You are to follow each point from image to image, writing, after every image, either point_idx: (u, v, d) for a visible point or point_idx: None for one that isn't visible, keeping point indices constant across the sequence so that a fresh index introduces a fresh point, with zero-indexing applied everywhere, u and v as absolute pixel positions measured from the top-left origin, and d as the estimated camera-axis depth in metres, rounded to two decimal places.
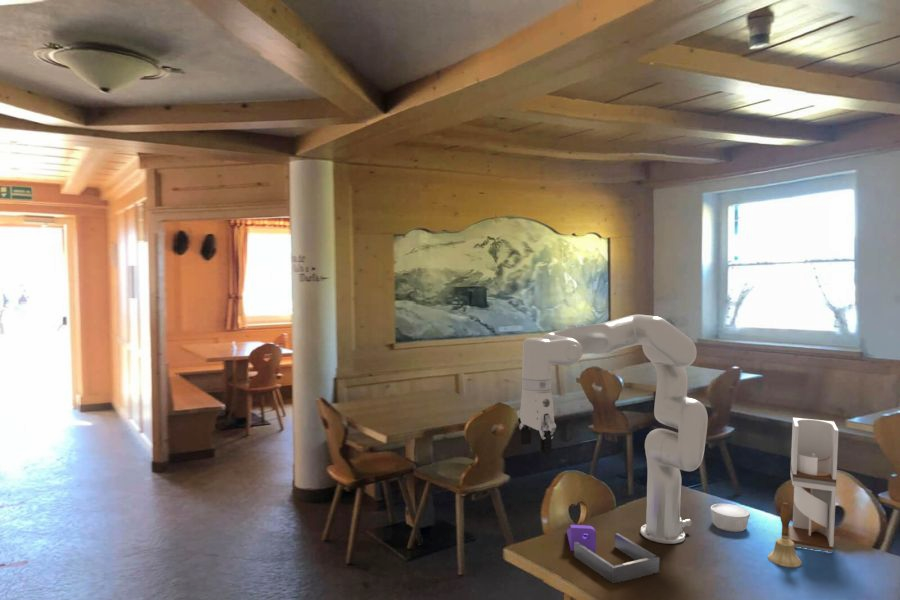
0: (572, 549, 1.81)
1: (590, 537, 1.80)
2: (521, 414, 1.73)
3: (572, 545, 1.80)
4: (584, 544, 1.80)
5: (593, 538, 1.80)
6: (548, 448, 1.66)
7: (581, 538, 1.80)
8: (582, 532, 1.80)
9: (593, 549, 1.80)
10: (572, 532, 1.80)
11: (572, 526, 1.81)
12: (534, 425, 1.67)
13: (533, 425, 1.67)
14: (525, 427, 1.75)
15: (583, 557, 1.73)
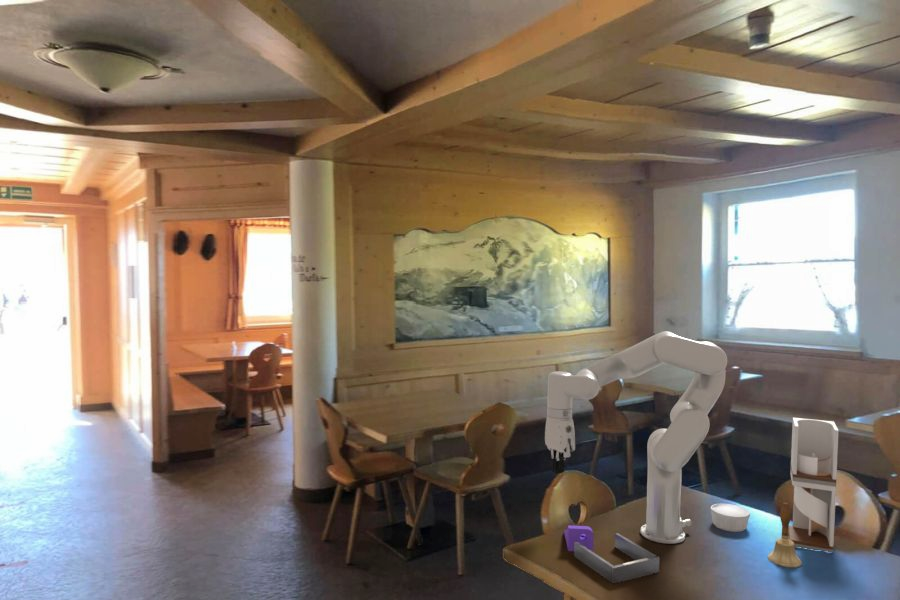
0: (569, 550, 1.80)
1: (587, 538, 1.80)
2: (546, 438, 1.98)
3: (569, 546, 1.80)
4: None
5: (591, 539, 1.79)
6: (561, 468, 1.95)
7: (578, 539, 1.80)
8: (579, 533, 1.80)
9: None
10: (569, 533, 1.80)
11: (569, 527, 1.81)
12: (558, 448, 1.92)
13: (557, 448, 1.93)
14: None
15: (583, 557, 1.73)
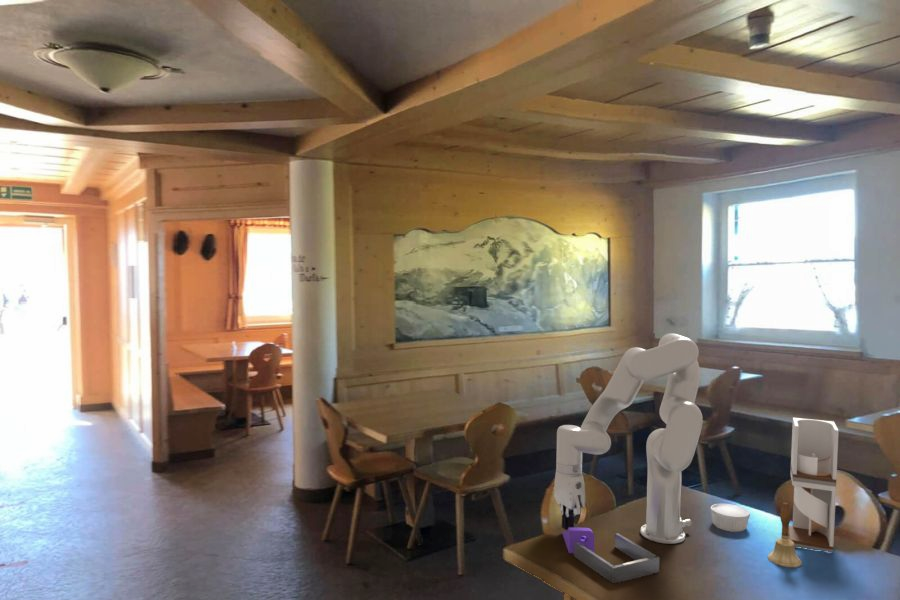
0: (570, 552, 1.79)
1: (588, 539, 1.79)
2: (555, 492, 1.94)
3: (570, 548, 1.79)
4: None
5: (592, 540, 1.79)
6: (571, 524, 1.91)
7: (579, 540, 1.79)
8: (580, 534, 1.79)
9: None
10: (570, 535, 1.79)
11: (570, 529, 1.79)
12: (567, 504, 1.88)
13: (567, 504, 1.89)
14: None
15: (583, 557, 1.73)
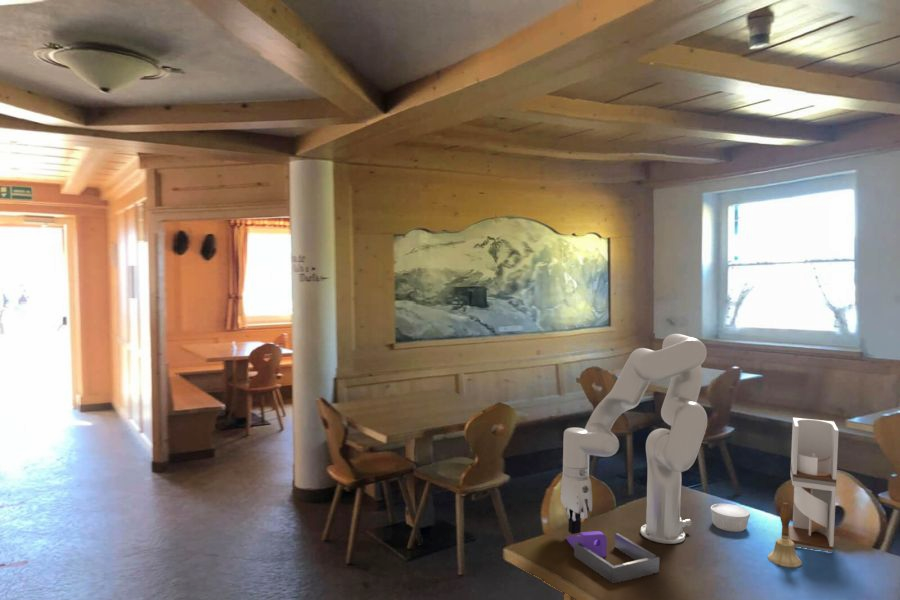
0: None
1: (601, 543, 1.76)
2: (561, 496, 1.91)
3: None
4: (595, 551, 1.76)
5: (604, 544, 1.77)
6: (578, 528, 1.88)
7: (593, 545, 1.76)
8: (594, 539, 1.76)
9: (604, 555, 1.77)
10: (584, 540, 1.75)
11: (583, 533, 1.76)
12: (574, 508, 1.85)
13: (573, 508, 1.86)
14: None
15: (583, 557, 1.73)
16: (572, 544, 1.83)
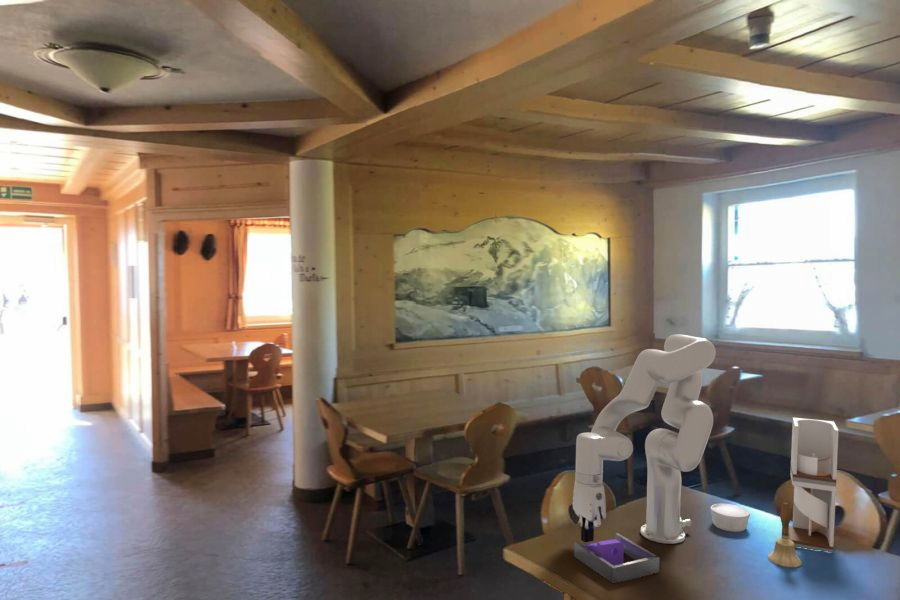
0: None
1: (618, 551, 1.71)
2: (574, 503, 1.85)
3: None
4: (613, 560, 1.71)
5: (621, 552, 1.72)
6: (591, 537, 1.82)
7: (610, 554, 1.71)
8: (611, 548, 1.71)
9: (621, 563, 1.72)
10: (602, 549, 1.70)
11: (600, 543, 1.70)
12: (587, 516, 1.80)
13: (586, 516, 1.80)
14: None
15: (583, 557, 1.73)
16: None
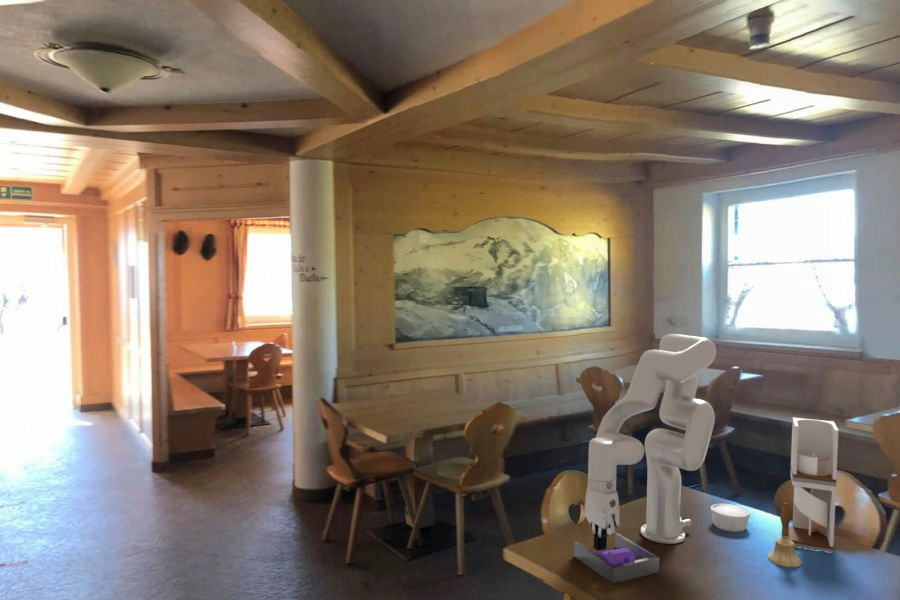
0: None
1: (630, 560, 1.65)
2: (586, 510, 1.80)
3: None
4: None
5: None
6: (604, 545, 1.77)
7: (621, 563, 1.65)
8: (622, 557, 1.65)
9: None
10: (613, 558, 1.64)
11: (611, 552, 1.65)
12: (600, 524, 1.74)
13: (599, 523, 1.75)
14: None
15: (583, 557, 1.73)
16: None
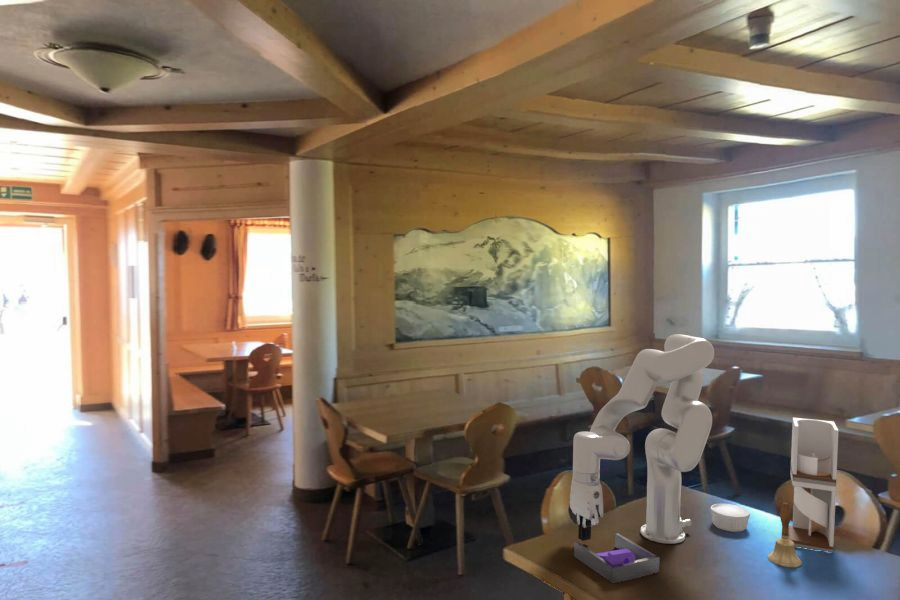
0: None
1: (630, 561, 1.65)
2: (571, 502, 1.87)
3: None
4: None
5: None
6: (588, 535, 1.83)
7: None
8: (622, 557, 1.65)
9: None
10: (613, 559, 1.64)
11: (612, 553, 1.64)
12: (585, 515, 1.81)
13: (584, 514, 1.81)
14: None
15: (583, 557, 1.73)
16: None
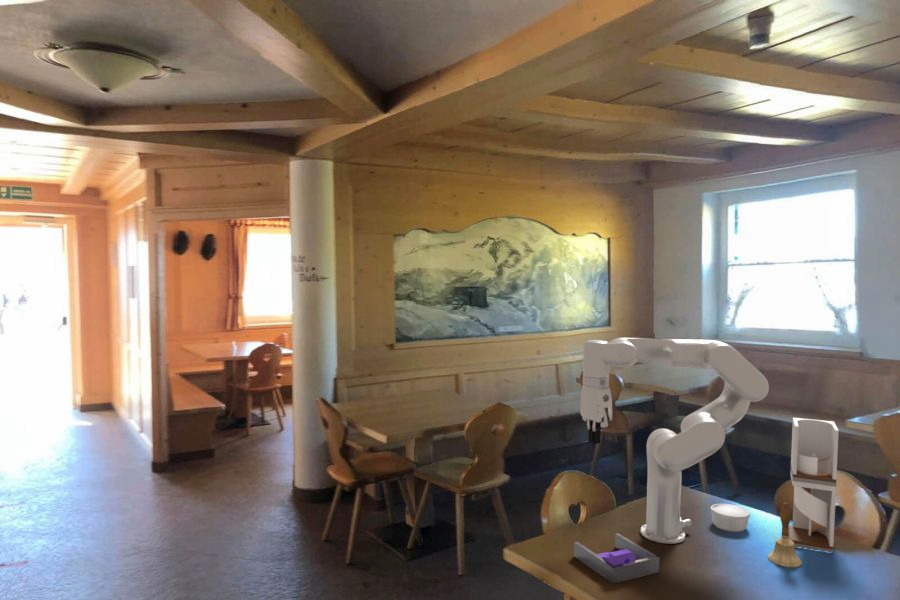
0: None
1: None
2: (581, 408, 1.93)
3: None
4: None
5: None
6: (598, 439, 1.90)
7: None
8: (624, 558, 1.64)
9: None
10: (615, 561, 1.63)
11: (613, 554, 1.64)
12: (594, 418, 1.88)
13: (594, 418, 1.88)
14: None
15: (583, 557, 1.73)
16: None
